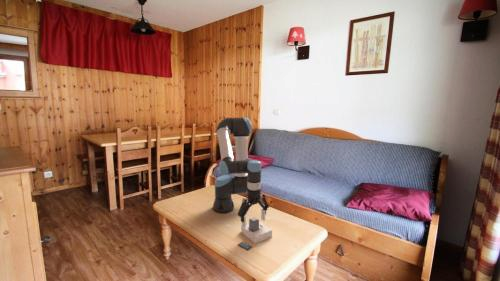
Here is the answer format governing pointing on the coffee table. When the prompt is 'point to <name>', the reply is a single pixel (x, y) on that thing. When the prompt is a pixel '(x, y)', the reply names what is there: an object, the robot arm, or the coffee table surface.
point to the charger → (253, 224)
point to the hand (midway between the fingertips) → (253, 223)
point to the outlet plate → (257, 232)
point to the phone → (244, 245)
